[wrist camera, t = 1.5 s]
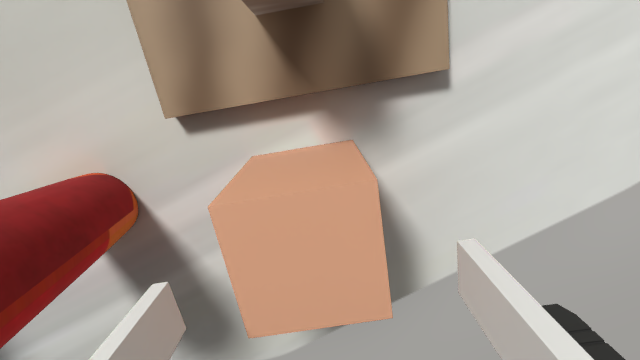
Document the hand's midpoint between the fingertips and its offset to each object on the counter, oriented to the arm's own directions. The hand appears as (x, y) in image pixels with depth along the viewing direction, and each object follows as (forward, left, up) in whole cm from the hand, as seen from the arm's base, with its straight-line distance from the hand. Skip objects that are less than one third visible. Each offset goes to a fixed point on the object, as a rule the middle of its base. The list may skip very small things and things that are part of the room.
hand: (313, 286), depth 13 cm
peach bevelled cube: (0, 0, -12) cm, 12 cm away
